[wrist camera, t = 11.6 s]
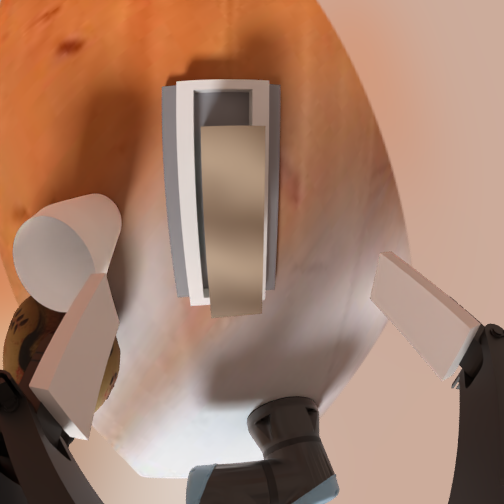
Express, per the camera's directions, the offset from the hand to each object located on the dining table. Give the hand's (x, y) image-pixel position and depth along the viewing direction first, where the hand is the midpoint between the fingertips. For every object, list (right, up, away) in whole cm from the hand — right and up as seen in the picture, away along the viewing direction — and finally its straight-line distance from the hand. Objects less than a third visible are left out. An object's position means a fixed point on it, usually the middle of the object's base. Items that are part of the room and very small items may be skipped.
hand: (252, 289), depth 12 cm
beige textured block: (-3, +7, +16) cm, 18 cm away
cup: (-18, +5, +16) cm, 25 cm away
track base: (-3, +8, +17) cm, 20 cm away
